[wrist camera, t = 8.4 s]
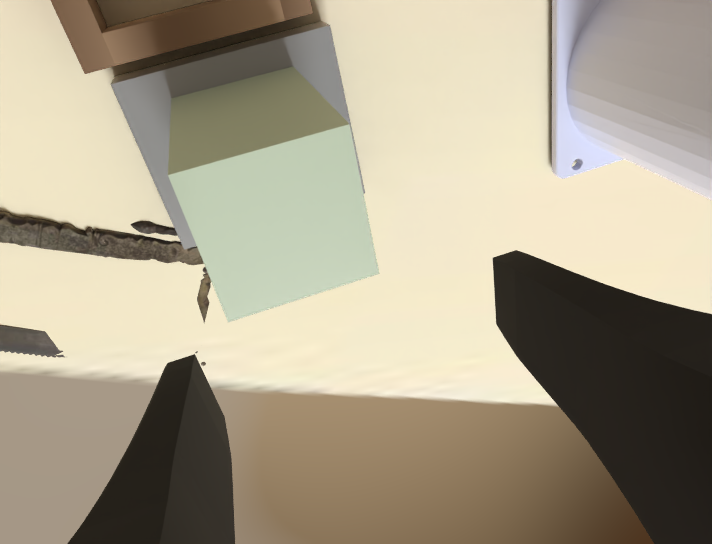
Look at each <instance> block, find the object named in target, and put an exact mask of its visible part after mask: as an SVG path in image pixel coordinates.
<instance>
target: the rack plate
mask: <svg viewBox="0 0 712 544" xmlns="http://www.w3.org/2000/svg"><path fill="white" fill-rule="evenodd" d="M289 67H294V68H295V69H296V70H297V71H298V72H299V73H300V74H301V75H302V76H303V77H304V78H305V79H306V80H307V81H308V82H309V83H310V84H311V85H312V86H313V87H314V88H315V89H316V90H317V91H318V92H319V93H320V94H321V95H322V96H323V97H324V98H325V99H326V100H327V101H328V102H329V103H330V105H331V106H332V107H333V108H334V109H335V110H336V111H337V112H338V113H339V114H340V115H341V116H342V117H343V118H344V119H345V120H346V121H347V122H348V123H349V124H350V128H351V123H350V119H349V114H348V109H347V104H346V100H345V95H344V90H343V85H342V81H341V76H340V71H339V66H338V62H337V57H336V52H335V47H334V43H333V38H332V33H331V28H330V25H328V24H326V23H324V22H322V21H320V22H316V23H313V24H309V25H305V26H301V27H298V28H294V29H290V30H286V31H283V32H279V33H275V34H272V35H268V36H264V37H260V38H257V39H253V40H249V41H245V42H242V43H238V44H234V45H231V46H227V47H223V48H219V49H216V50H212V51H208V52H205V53H201V54H197V55H193V56H190V57H186V58H182V59H178V60H175V61H171V62H167V63H164V64H160V65H156V66H152V67H149V68H145V69H141V70H137V71H134V72H130V73H126V74H123V75H119V76H115V77H114V79H113V81H112V83H111V86H112V88H113V91H114V93H115V95H116V97H117V100H118V102H119V104H120V106H121V109H122V111H123V113H124V115H125V118H126V120H127V122H128V124H129V127H130V129H131V131H132V133H133V136H134V138H135V140H136V142H137V145H138V147H139V149H140V151H141V154H142V156H143V158H144V160H145V163H146V165H147V167H148V169H149V172H150V174H151V176H152V178H153V181H154V183H155V185H156V187H157V190H158V192H159V194H160V196H161V199H162V201H163V203H164V205H165V208H166V210H167V212H168V214H169V217H170V219H171V221H172V223H173V226H174V228H175V230H176V232H177V235H178V237H179V239H180V241H181V244H182V246H183V248H184V250H185V249H188V248H191V247H195V246H197V245H196V243H195V240H194V238H193V235H192V233H191V230H190V228H189V226H188V223H187V221H186V218H185V216H184V213H183V211H182V208H181V206H180V204H179V201H178V199H177V196H176V194H175V191H174V189H173V187H172V184H171V182H170V179H169V177H168V161H169V139H170V117H171V98H175V97H178V96H182V95H186V94H190V93H194V92H198V91H201V90H205V89H209V88H213V87H217V86H220V85H224V84H228V83H232V82H236V81H239V80H243V79H247V78H251V77H255V76H258V75H262V74H266V73H270V72H274V71H277V70H281V69H285V68H289ZM351 133H352V128H351ZM352 138H353V133H352ZM353 144H354V149H355V154H356V159H357V164H358V169H359V174H360V179H361V184H362V189H363V194H364V193H365V190H364V185H363V180H362V176H361V171H360V166H359V161H358V157H357V152H356V147H355V142H354V138H353Z"/></svg>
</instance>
